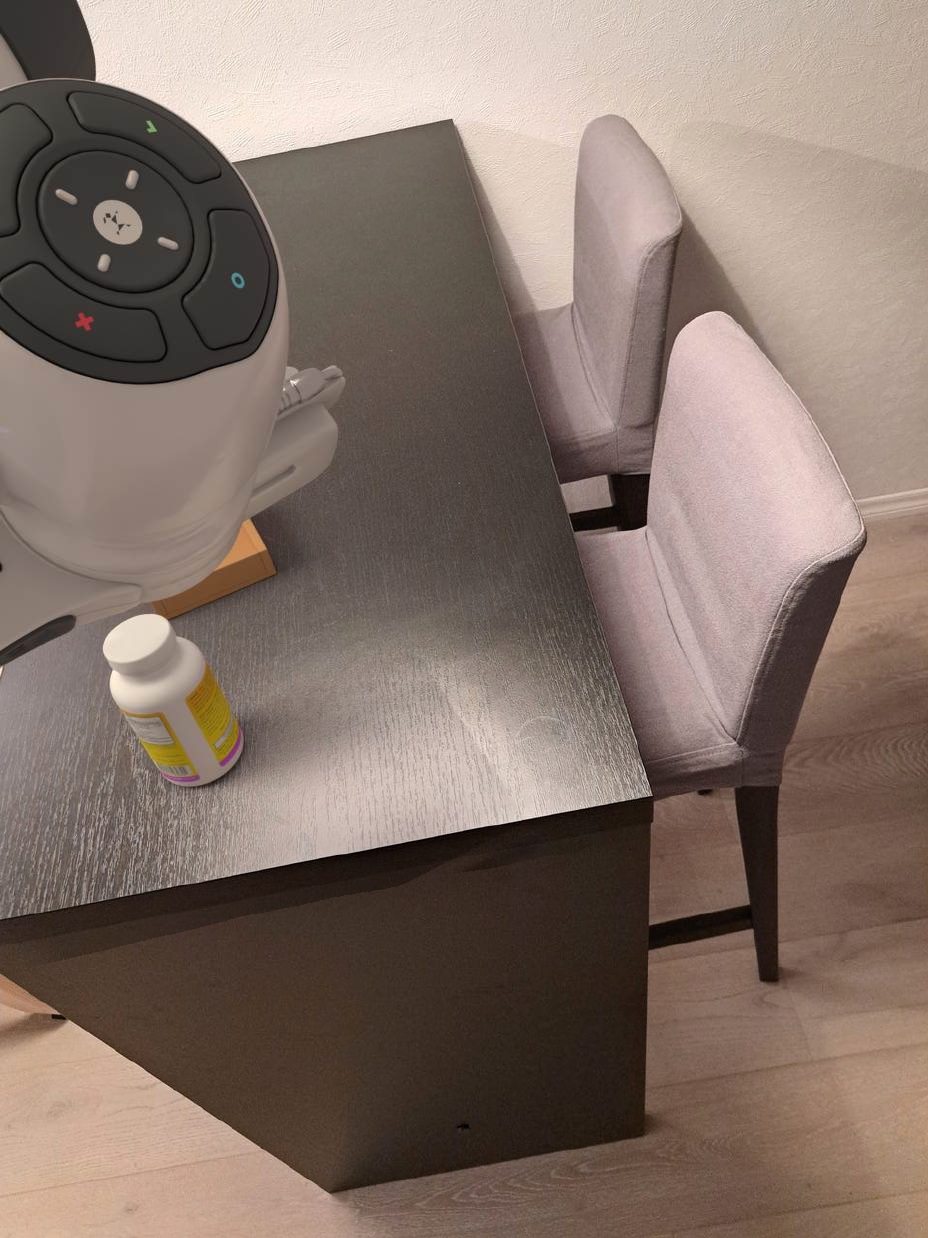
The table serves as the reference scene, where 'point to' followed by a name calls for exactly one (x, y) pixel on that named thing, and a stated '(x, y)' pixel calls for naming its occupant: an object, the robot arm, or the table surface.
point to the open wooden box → (224, 575)
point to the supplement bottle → (172, 701)
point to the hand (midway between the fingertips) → (131, 573)
